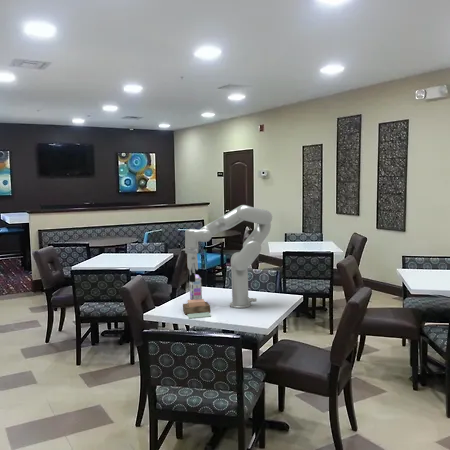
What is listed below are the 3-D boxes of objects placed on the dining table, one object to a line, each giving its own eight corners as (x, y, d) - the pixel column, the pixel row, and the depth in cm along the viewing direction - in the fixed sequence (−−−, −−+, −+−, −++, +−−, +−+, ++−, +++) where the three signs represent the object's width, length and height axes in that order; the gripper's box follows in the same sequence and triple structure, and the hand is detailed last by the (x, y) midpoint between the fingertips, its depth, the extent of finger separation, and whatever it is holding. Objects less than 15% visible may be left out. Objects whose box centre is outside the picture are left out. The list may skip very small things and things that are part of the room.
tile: (203, 303, 269) (203, 298, 269) (205, 305, 263) (205, 301, 263) (187, 304, 267) (187, 300, 267) (189, 307, 261) (189, 302, 261)
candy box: (202, 305, 280) (201, 278, 278) (192, 306, 278) (191, 278, 277) (199, 299, 293) (198, 273, 292) (189, 300, 292) (188, 274, 290)
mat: (208, 313, 263) (208, 312, 263) (211, 316, 255) (211, 315, 255) (187, 315, 260) (187, 314, 260) (189, 318, 253) (189, 317, 253)
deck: (207, 308, 272) (206, 301, 272) (210, 312, 263) (209, 305, 263) (183, 310, 269) (182, 303, 269) (185, 314, 260) (185, 307, 260)
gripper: (200, 251, 264) (200, 283, 266) (196, 248, 279) (196, 278, 281) (187, 252, 263) (187, 284, 264) (183, 248, 277) (184, 279, 279)
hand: (192, 281), depth 272 cm, fingers closed
